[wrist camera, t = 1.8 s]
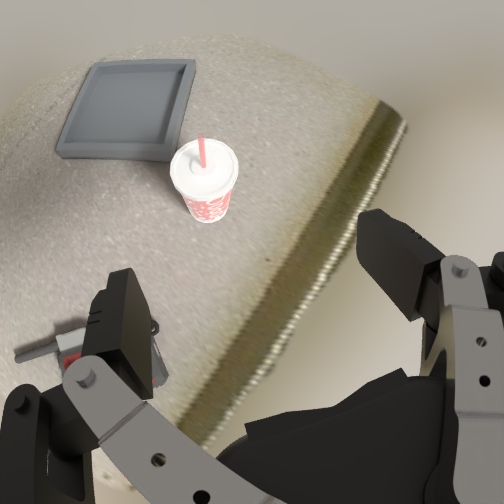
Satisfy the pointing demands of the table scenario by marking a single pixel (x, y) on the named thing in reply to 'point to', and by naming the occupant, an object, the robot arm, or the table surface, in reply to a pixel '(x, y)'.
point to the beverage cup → (205, 177)
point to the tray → (129, 111)
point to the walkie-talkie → (72, 349)
